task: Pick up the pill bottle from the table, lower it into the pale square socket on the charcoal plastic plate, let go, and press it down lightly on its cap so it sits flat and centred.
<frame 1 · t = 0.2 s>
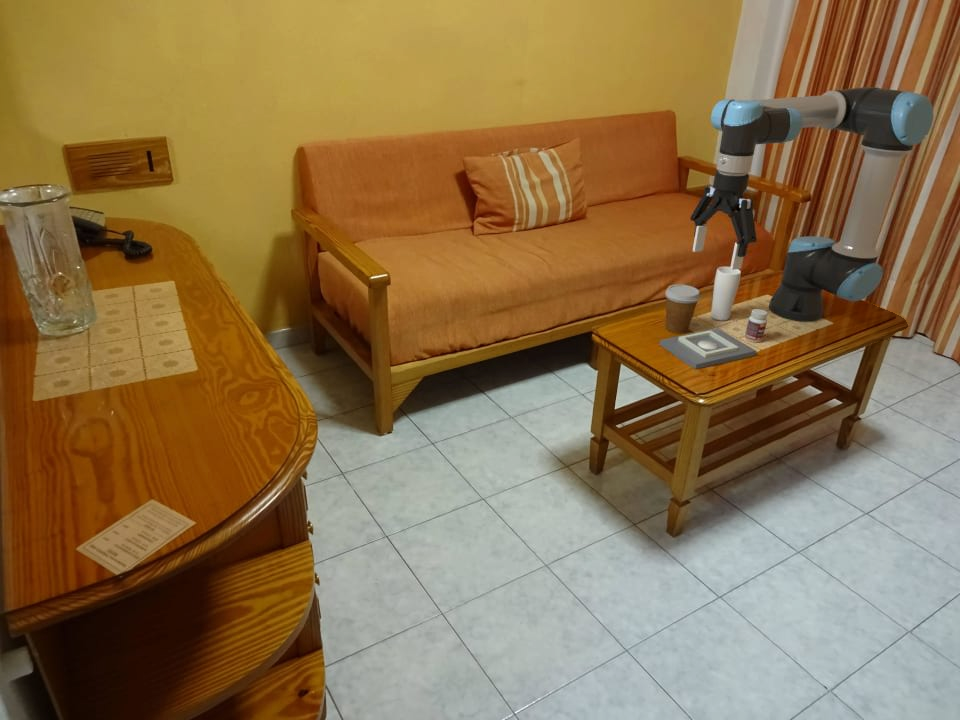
hand: (716, 259, 167), 27 cm above the table, tool pointing down, fingers open, 13 cm apart
pill bottle: (753, 339, 191), on the table
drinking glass: (719, 318, 203), on the table
socket plate: (706, 350, 184), on the table
disposable coffee cup: (676, 329, 196), on the table
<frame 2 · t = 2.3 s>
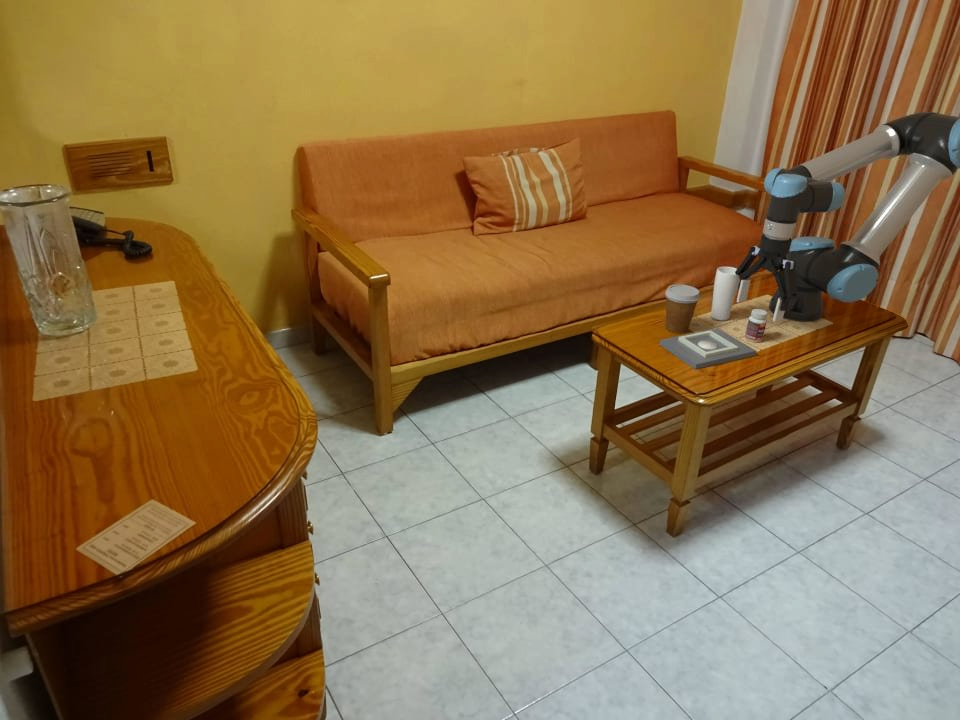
hand: (758, 310, 186), 9 cm above the table, tool pointing down, fingers open, 13 cm apart
nothing on the table moved.
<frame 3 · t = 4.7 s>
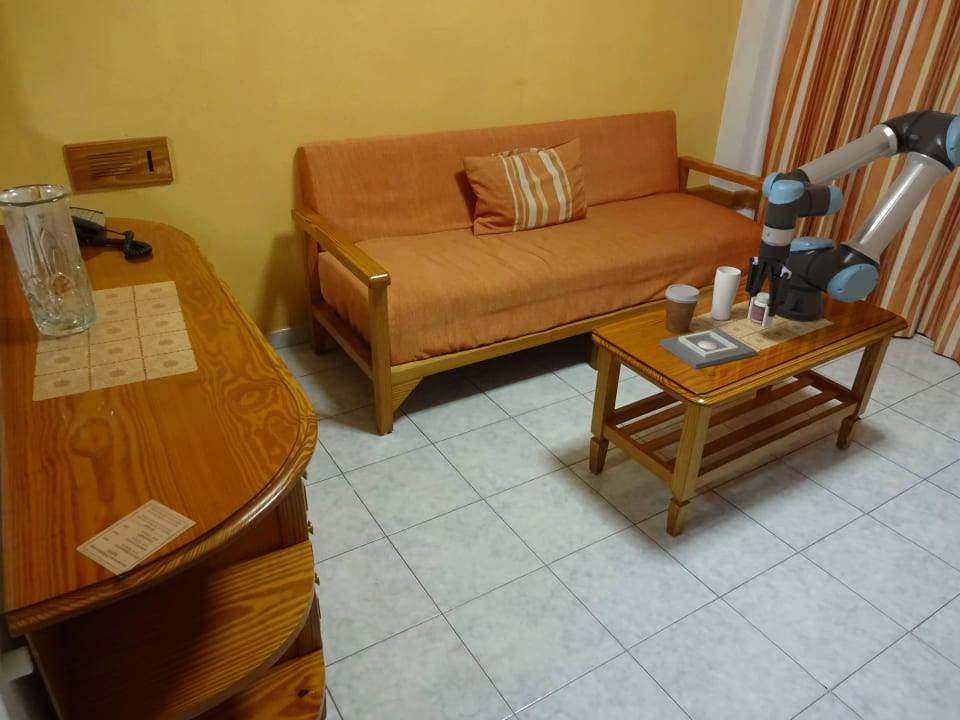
hand: (759, 322, 188), 5 cm above the table, tool pointing down, fingers closed on pill bottle, 5 cm apart
pill bottle: (759, 323, 189), point 5 cm above the table, touching gripper
everything else where it was.
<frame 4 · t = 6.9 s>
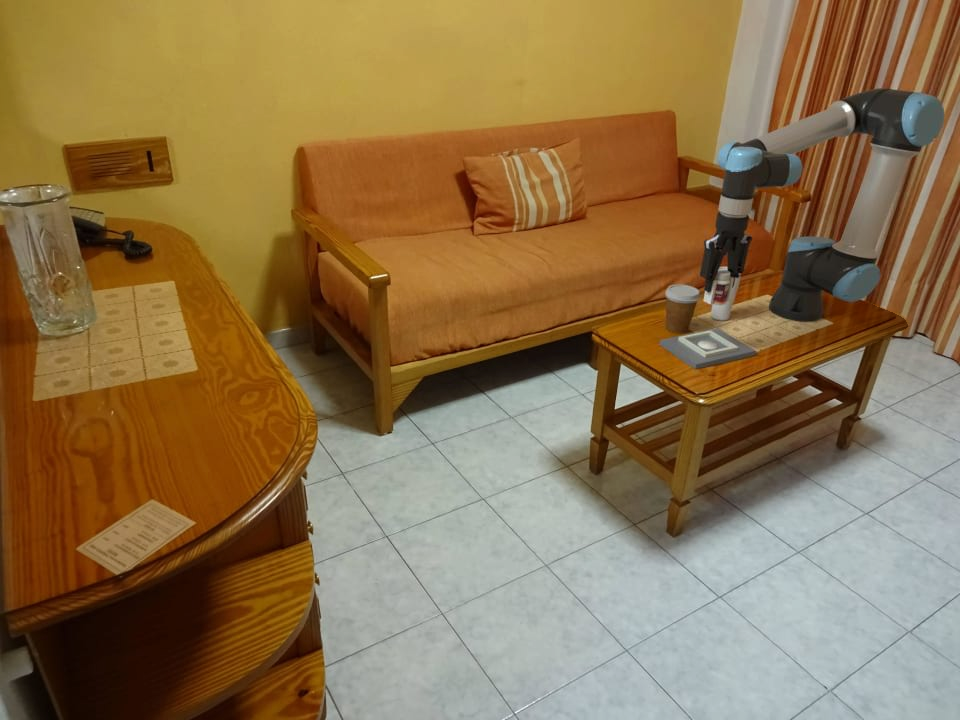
hand: (716, 300, 177), 14 cm above the table, tool pointing down, fingers closed on pill bottle, 5 cm apart
pill bottle: (716, 302, 177), point 14 cm above the table, touching gripper
everything else where it was.
when the fingers open (3 cm above the table, at t = 9.2 s): pill bottle drops 1 cm, resting on socket plate.
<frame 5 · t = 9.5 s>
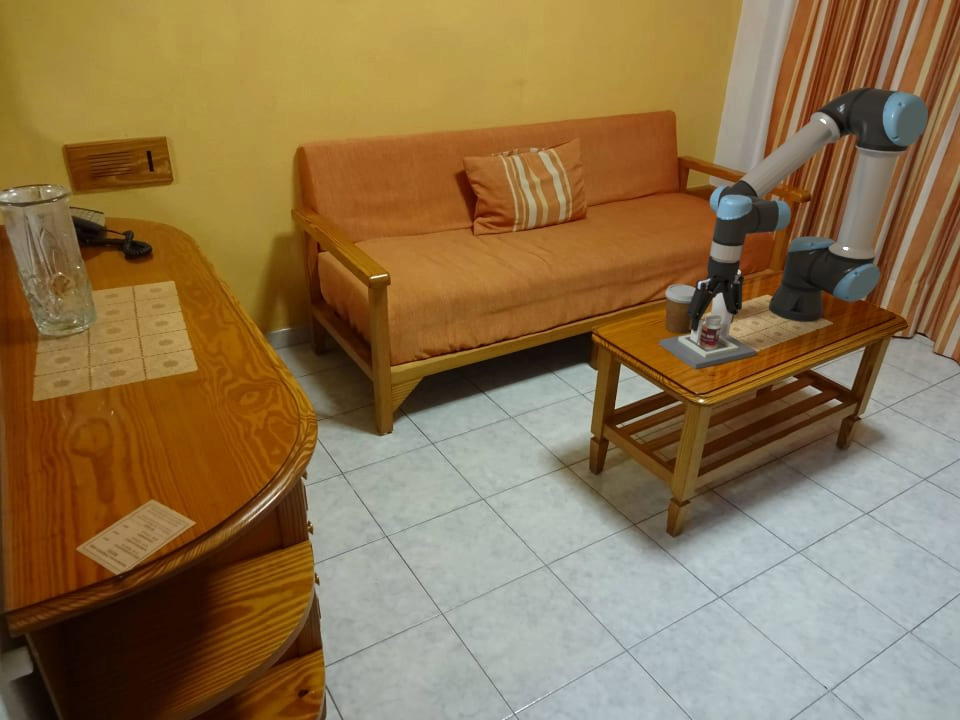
hand: (709, 337, 182), 4 cm above the table, tool pointing down, fingers open, 9 cm apart
pill bottle: (707, 345, 183), point 1 cm above the table, touching socket plate
everything else where it was.
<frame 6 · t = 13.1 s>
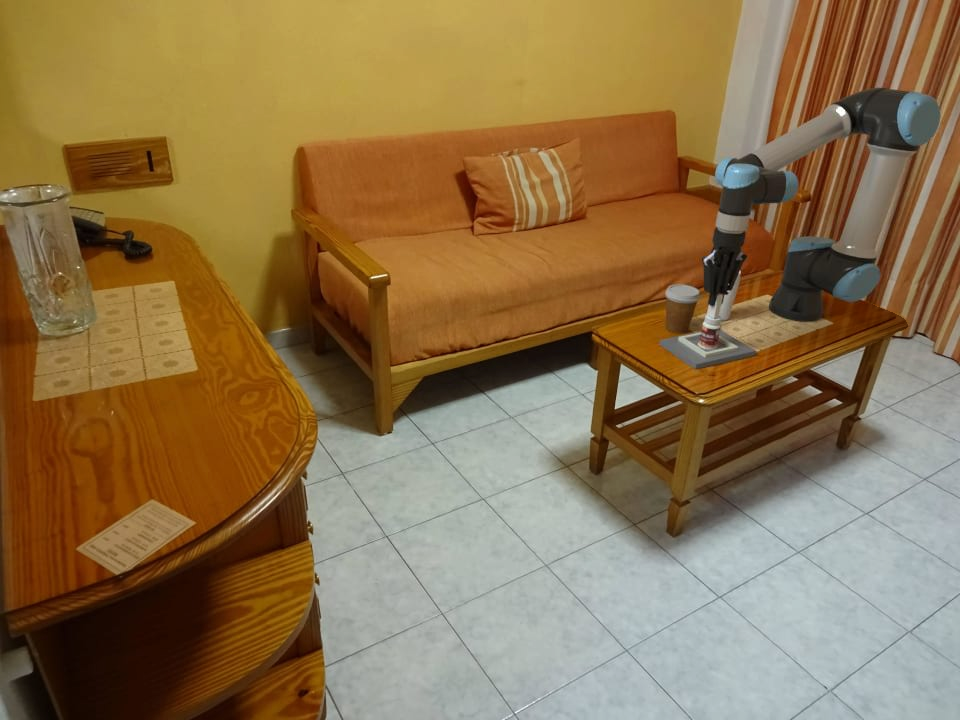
hand: (712, 316, 179), 10 cm above the table, tool pointing down, fingers closed
pill bottle: (707, 345, 183), point 1 cm above the table, touching gripper, socket plate
everything else where it was.
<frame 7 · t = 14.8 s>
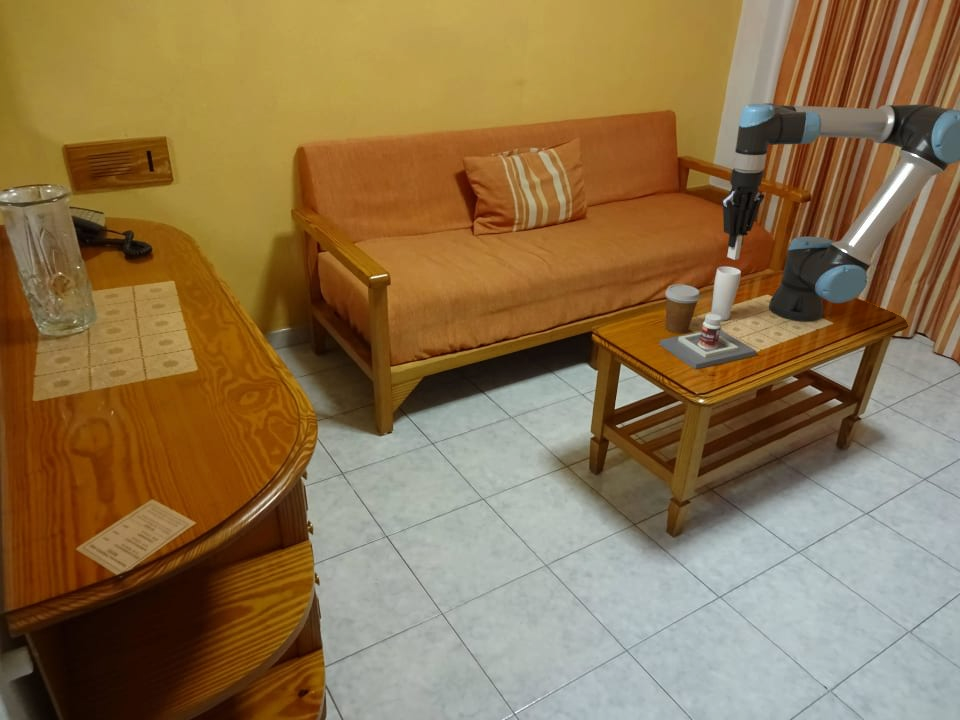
hand: (732, 257, 183), 22 cm above the table, tool pointing down, fingers closed
pill bottle: (707, 345, 183), point 1 cm above the table, touching socket plate
everything else where it was.
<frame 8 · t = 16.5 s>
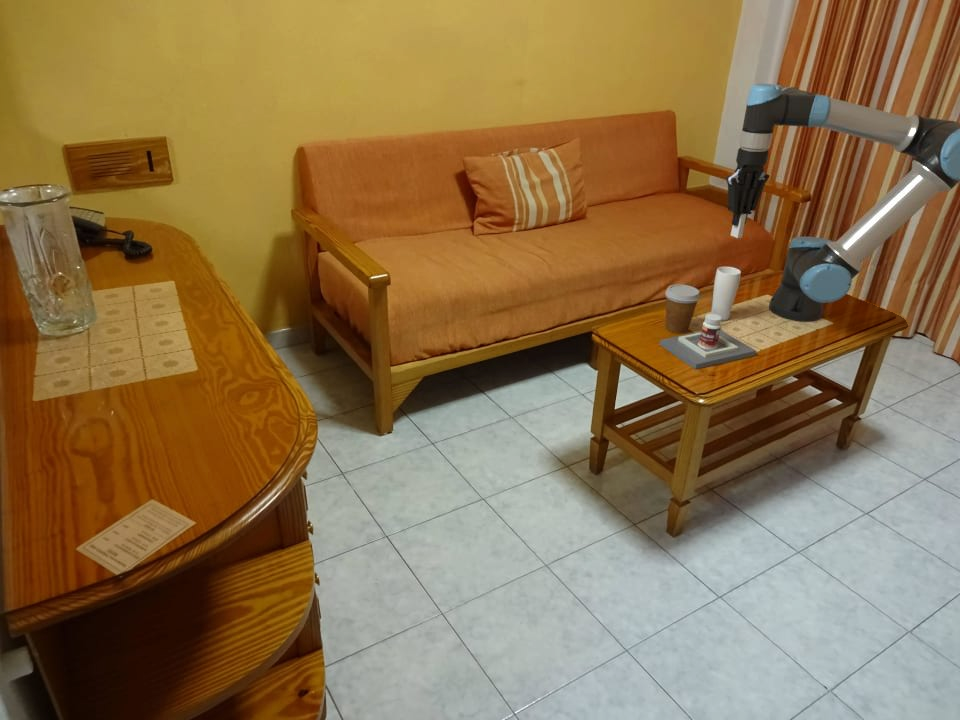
hand: (736, 236, 187), 26 cm above the table, tool pointing down, fingers closed
nothing on the table moved.
at the end: pill bottle 0.1 cm off-centre on the socket plate, point 1.4 cm above the socket plate's base; pill bottle tilted 0°; the gripper is holding nothing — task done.
